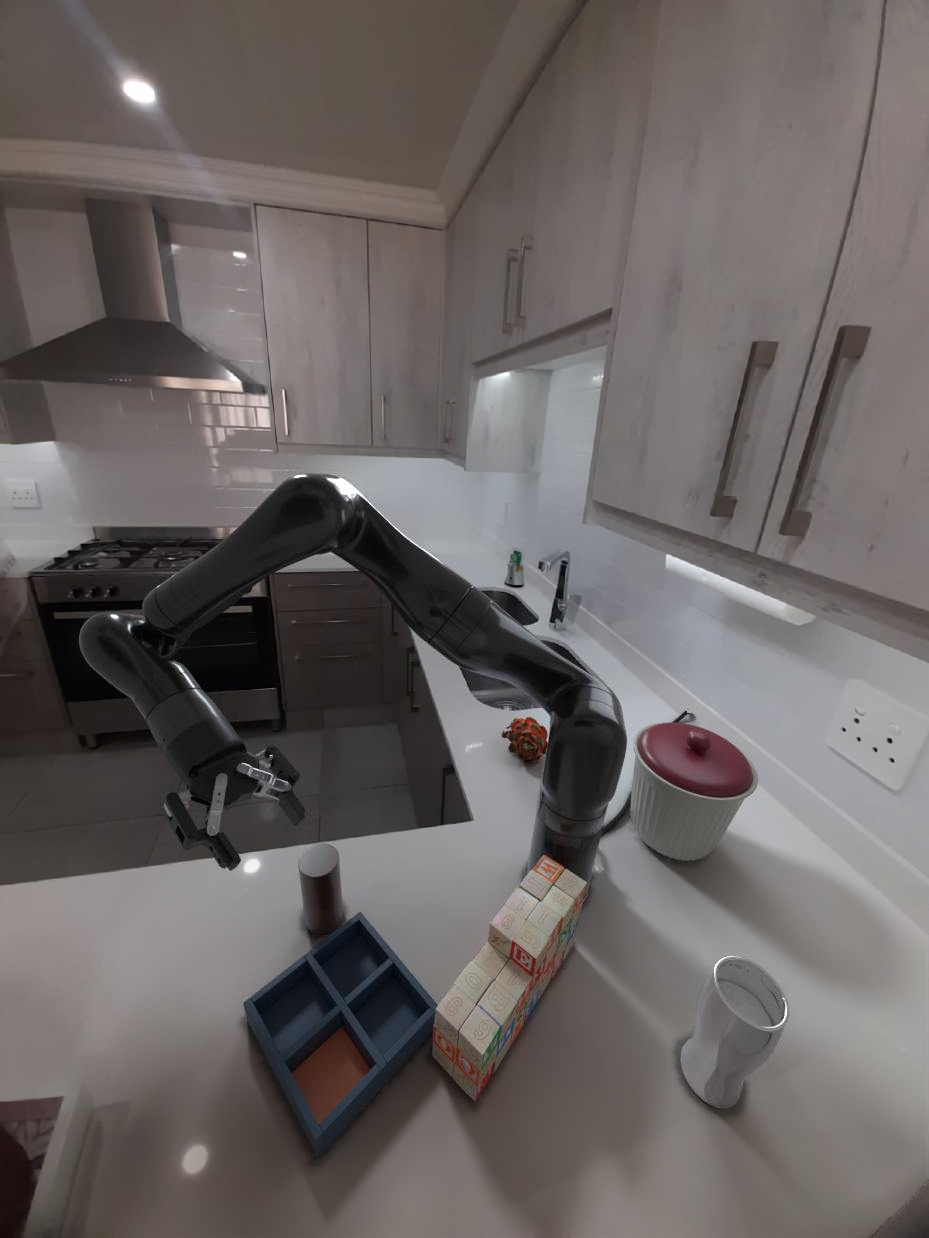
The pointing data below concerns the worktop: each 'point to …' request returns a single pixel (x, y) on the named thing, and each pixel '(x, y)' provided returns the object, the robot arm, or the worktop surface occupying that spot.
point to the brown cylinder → (321, 888)
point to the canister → (686, 788)
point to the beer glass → (733, 1030)
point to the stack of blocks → (507, 975)
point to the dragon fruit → (527, 738)
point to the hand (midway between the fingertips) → (270, 842)
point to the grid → (339, 1026)
